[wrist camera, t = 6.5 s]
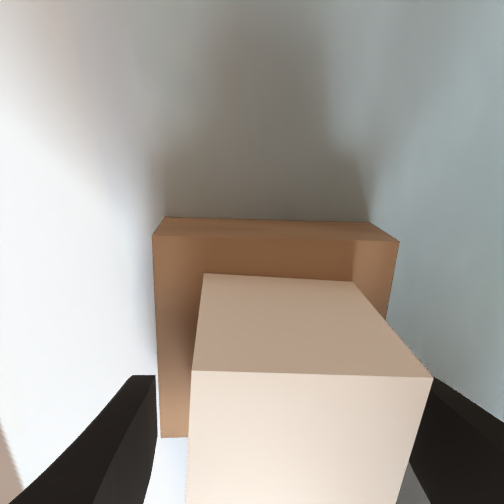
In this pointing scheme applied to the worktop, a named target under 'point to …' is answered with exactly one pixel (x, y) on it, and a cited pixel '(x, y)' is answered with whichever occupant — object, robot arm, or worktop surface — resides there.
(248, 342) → the cube
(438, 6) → the worktop surface
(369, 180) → the worktop surface
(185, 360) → the base block
